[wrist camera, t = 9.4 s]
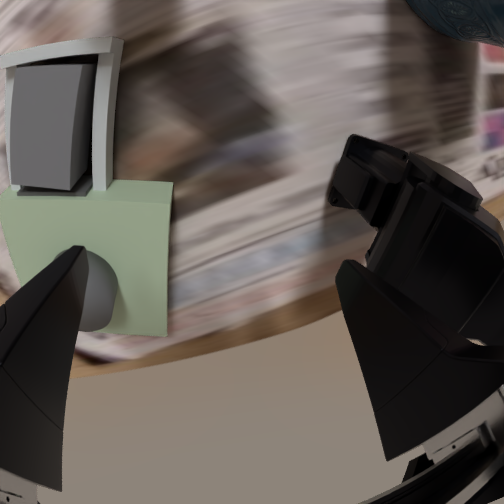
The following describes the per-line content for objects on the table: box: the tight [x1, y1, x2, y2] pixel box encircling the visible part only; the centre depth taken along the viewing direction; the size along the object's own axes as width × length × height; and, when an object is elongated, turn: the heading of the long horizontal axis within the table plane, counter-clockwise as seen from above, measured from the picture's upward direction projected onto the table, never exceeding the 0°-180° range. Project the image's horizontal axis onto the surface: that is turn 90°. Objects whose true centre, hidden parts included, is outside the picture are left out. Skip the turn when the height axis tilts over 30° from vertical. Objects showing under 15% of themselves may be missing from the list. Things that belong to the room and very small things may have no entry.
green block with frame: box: [0, 37, 173, 337], centre depth 17 cm, size 14×24×6 cm, turn 168°
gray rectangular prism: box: [10, 63, 98, 190], centre depth 14 cm, size 5×8×4 cm, turn 163°
